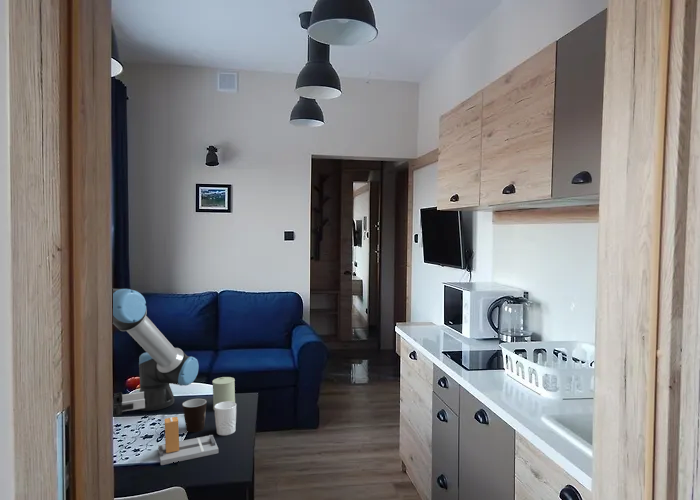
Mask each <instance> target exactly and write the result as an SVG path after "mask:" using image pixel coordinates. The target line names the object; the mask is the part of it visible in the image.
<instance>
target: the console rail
mask: <svg viewBox="0 0 700 500" xmlns="http://www.w3.org/2000/svg"><path fill="white" fill-rule="evenodd" d="M157 449H159V450H158V455H159V462H160V466H164V465H169V464H174V463H177V462H178V461H179V462H183V461H187V460H188V461H189V460H193V459H197V458H202V457H203V458H204V457H207V456H213V455H216V454H219V447H218V445H217V442H216V440H215V437H214V434H209V435H205V436H200V437H196V438H195V437H194V438H190V439H185V440H179V451H174V452H169V453H166V448H165V443H164V444H159V445H158V447H157ZM173 462H174V463H173Z"/></svg>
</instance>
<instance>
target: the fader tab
mask: <svg viewBox="0 0 700 500" xmlns="http://www.w3.org/2000/svg"><path fill="white" fill-rule="evenodd" d="M179 425H180V424H179V419H178V416H173V417H172V416H170V417H167V418H164V442H165V443H164V444H165V448H166V453H169V452H174V451H179V441H180V435H179V434H180V430H179V428H180V427H179Z"/></svg>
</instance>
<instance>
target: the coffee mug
mask: <svg viewBox="0 0 700 500" xmlns="http://www.w3.org/2000/svg"><path fill="white" fill-rule="evenodd" d="M207 402H208V401H207V399H204V398H192V399H188V400H186V401H183V402H182V409H183V416H184V424H185V429H186V430H187V431H188V432H187V431H186V430H185V431H186V432H187V433H190V432H195V433H198V432H201V431H203V430H204V429H205V423H206V411H207Z"/></svg>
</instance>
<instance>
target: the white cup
mask: <svg viewBox="0 0 700 500" xmlns="http://www.w3.org/2000/svg"><path fill="white" fill-rule="evenodd" d="M214 409H215V410H214ZM214 409H213V410H214V420H215V428H216V434H217V435H219V436H230V435H233V434H235V432H236V427H237V426H236V423H237V403H236V401H235V402H230V401H227V402H220V403H218V404H216V405H215V406H214Z"/></svg>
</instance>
